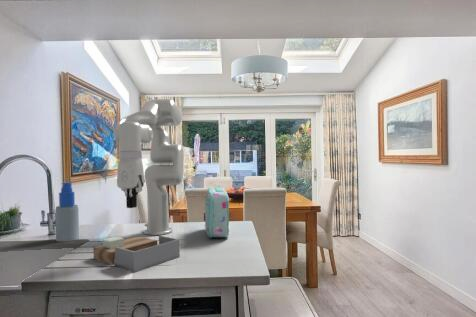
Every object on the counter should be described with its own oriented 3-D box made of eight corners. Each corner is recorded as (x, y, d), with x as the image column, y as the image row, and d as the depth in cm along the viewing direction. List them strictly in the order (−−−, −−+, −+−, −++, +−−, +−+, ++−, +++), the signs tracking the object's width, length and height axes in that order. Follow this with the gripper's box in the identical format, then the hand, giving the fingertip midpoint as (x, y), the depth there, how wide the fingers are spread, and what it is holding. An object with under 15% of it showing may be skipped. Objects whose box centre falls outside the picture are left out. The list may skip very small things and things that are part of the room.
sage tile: (102, 246, 107) (102, 239, 107) (115, 243, 111) (115, 236, 111) (110, 248, 104) (110, 241, 104) (123, 245, 108) (123, 238, 108)
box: (114, 265, 99) (113, 246, 99) (159, 251, 114) (159, 235, 114) (134, 272, 93) (133, 252, 93) (179, 256, 107) (179, 239, 107)
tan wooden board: (93, 258, 107) (93, 246, 107) (138, 246, 122) (138, 236, 122) (112, 264, 100) (112, 252, 100) (157, 251, 114) (157, 240, 114)
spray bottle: (59, 242, 130) (58, 183, 131) (53, 239, 137) (52, 182, 137) (81, 238, 137) (80, 182, 137) (75, 235, 143) (74, 181, 143)
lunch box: (203, 228, 153) (202, 184, 153) (224, 226, 154) (223, 184, 155) (206, 241, 126) (205, 189, 127) (231, 240, 128) (230, 188, 128)
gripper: (109, 157, 112) (110, 207, 112) (134, 156, 104) (136, 210, 104) (126, 157, 118) (127, 204, 118) (152, 156, 110) (153, 207, 110)
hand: (131, 207), depth 111 cm, fingers closed
